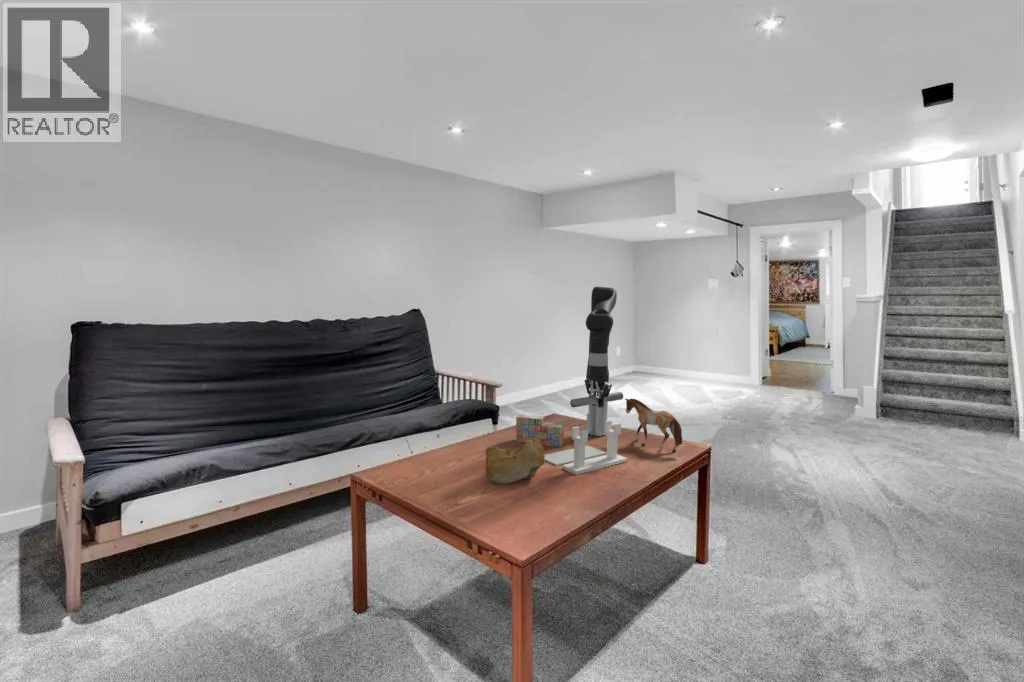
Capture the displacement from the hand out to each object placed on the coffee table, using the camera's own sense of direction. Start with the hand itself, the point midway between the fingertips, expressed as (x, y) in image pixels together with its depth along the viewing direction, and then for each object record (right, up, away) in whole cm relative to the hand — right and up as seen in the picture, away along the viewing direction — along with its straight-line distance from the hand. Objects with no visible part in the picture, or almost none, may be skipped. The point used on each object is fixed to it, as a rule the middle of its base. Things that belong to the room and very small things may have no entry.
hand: (597, 406), depth 208 cm
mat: (-8, -23, +14) cm, 28 cm away
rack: (0, -24, +2) cm, 24 cm away
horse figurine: (+29, -22, +26) cm, 45 cm away
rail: (0, +1, 0) cm, 1 cm away
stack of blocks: (-21, -21, +32) cm, 44 cm away
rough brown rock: (-35, -26, -11) cm, 44 cm away
